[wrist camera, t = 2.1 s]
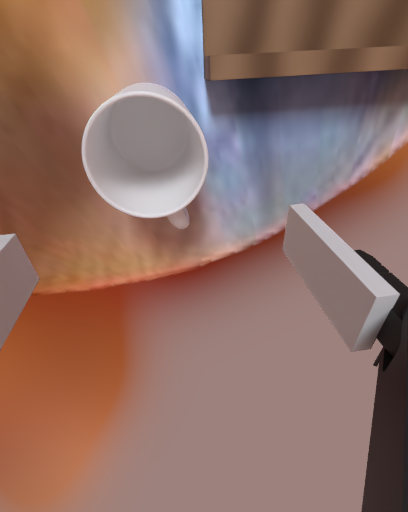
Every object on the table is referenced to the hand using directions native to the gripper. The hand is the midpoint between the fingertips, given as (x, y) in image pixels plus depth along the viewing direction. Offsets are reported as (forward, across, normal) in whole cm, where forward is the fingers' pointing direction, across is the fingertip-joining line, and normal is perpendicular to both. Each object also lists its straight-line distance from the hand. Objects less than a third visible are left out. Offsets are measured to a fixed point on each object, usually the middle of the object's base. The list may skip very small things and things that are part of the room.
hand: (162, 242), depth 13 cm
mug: (+17, 0, 0) cm, 17 cm away
